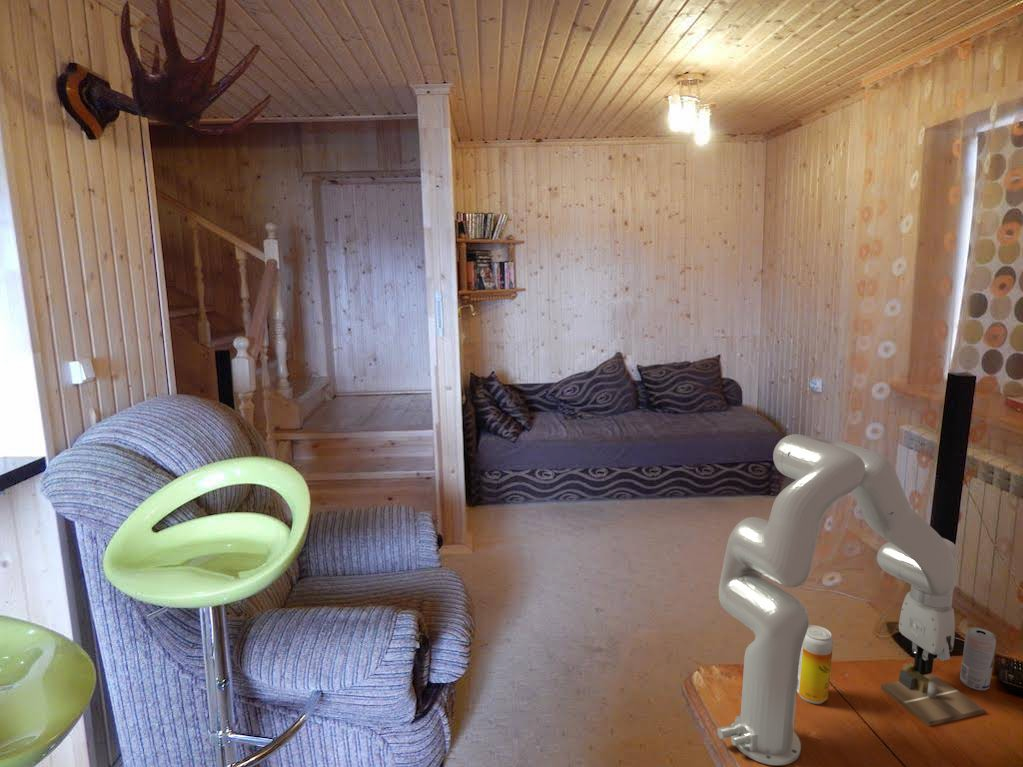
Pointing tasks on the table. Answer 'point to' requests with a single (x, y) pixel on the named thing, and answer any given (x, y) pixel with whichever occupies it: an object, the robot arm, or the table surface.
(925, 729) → the table surface
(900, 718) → the table surface
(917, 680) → the latch bar
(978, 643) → the energy drink
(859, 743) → the table surface
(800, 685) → the beer can
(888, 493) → the robot arm
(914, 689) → the lock board
